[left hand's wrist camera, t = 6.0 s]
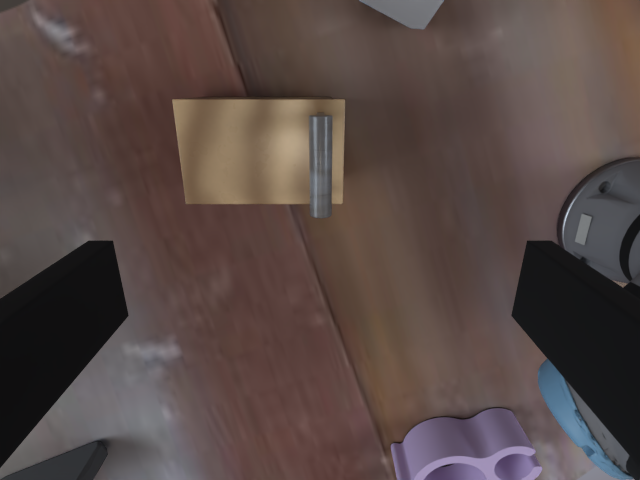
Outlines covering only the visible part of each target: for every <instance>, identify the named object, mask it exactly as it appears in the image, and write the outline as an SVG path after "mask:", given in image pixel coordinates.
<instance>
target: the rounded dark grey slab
mask: <svg viewBox="0 0 640 480" xmlns="http://www.w3.org/2000/svg"><path fill="white" fill-rule="evenodd" d="M107 455H108V454H107V449H106V447H105V446H104V445H103V444H102V443H101V442H94V443H90V444H87V445H85V446H82V447H80V448H77V449H75V450H72V451H70V452H67V453H65V454H62V455H60V456H57V457H54V458H52V459H49V460H47V461H44V462H42V463H39V464H37V465H34V466H32V467H29V468H27V469H24V470H22V471H19V472H17V473H14V474H12V475H9V476H7V477H5V478H2V479H0V480H93V479H94V477H95V475H96V474H97V472H98V470H99V469H100V467H101V465H102V463H103V462H104V460H105V458H106V457H107Z"/></svg>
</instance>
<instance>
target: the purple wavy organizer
mask: <svg viewBox="0 0 640 480" xmlns="http://www.w3.org/2000/svg"><path fill="white" fill-rule="evenodd" d="M391 451H392V456H393V461H394V466H395V471H396V476H397V480H534V479H535V478H536V477H537V476H538V475H539V474H540V473H541V471H542V467H541V465H540V464H539V462H538V460H537V458H536V457H535V455H534V454H535V452H536V451H535V449H534V448H533V446H532V444H531V443H530V441H529V439H528V438H527V436H526V434H525V432H524V431H523V429H522V427H521V426H520V424H519V422H518V421H517V419H516V417H515V416H514V414H513V412H512V411H510V410H507V409H503V408H493V409H488V410H485V411H483V412H481V413H479V414H477V415H476V416H474V417H472V418H470V419H464V420H461V419H456V418H449V417H440V418H434V419H430V420H427V421H424V422H422V423H420V424H418V425H417V426H415V427H414V428H413V429H411V430H410V431H409V433H408V434H407V435H406V437H405V439H404V441H403V443H401V444H398V443H393V444H392V445H391ZM452 463H455V464H453V465H450V466H446V467H440V466H443V465H447V464H452ZM438 467H440V468H438Z"/></svg>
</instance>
